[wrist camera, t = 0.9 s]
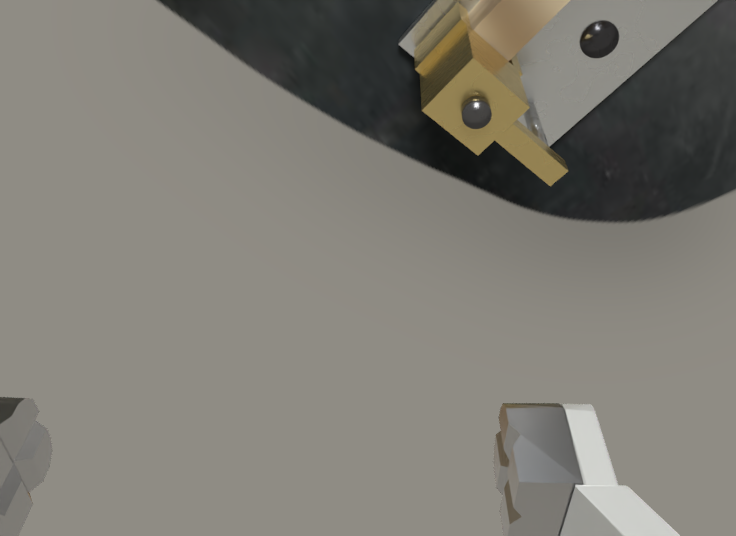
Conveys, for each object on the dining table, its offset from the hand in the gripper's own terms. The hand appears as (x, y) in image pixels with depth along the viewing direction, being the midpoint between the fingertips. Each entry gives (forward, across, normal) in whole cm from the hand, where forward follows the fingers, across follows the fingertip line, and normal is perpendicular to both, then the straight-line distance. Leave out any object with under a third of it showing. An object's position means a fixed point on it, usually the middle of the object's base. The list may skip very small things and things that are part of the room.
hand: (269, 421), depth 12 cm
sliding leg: (+36, -9, +8) cm, 38 cm away
